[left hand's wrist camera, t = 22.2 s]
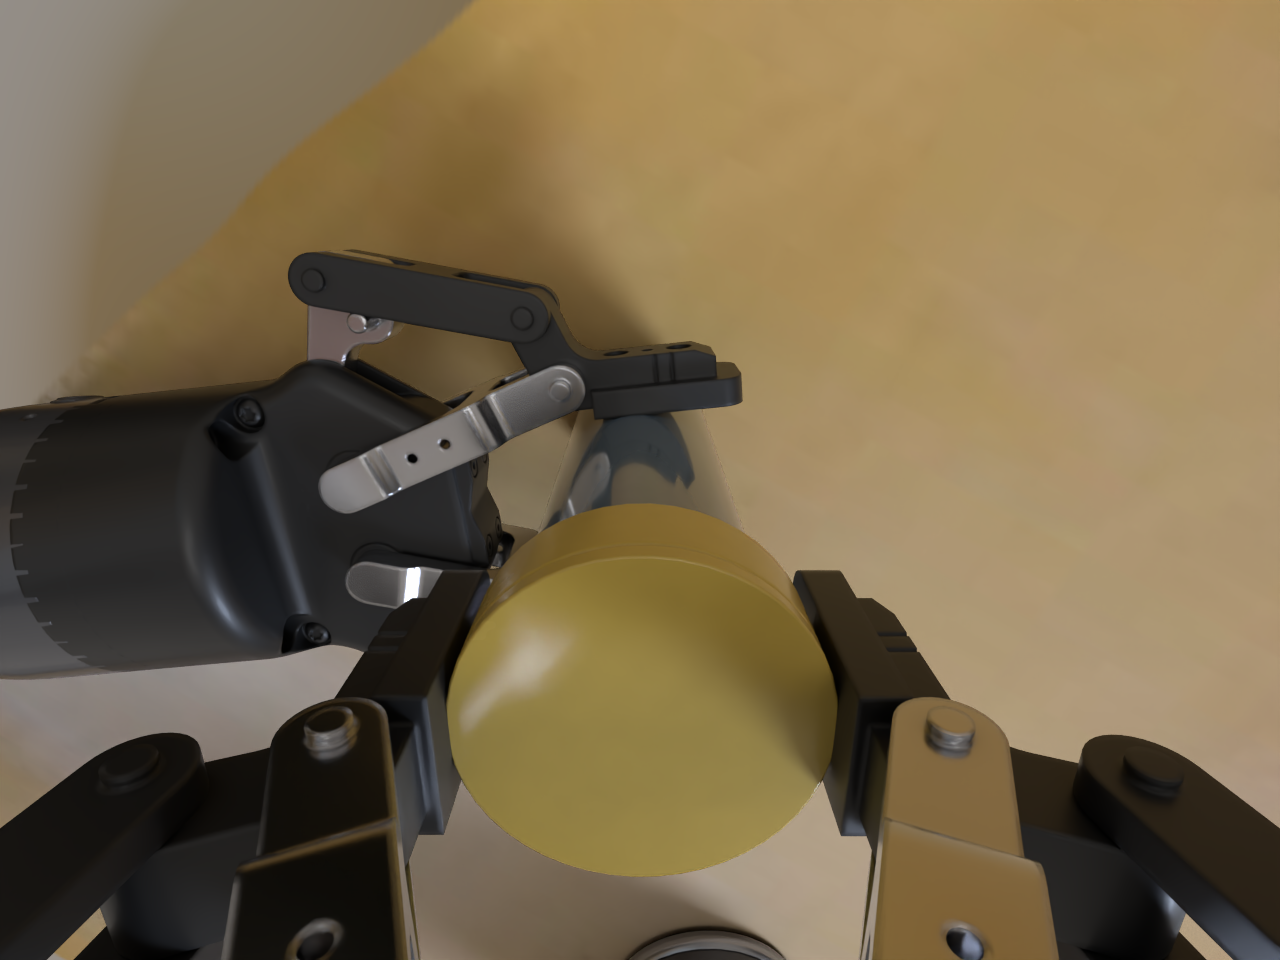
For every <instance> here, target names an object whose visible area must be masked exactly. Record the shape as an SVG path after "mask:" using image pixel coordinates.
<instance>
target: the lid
mask: <svg viewBox="0 0 1280 960" xmlns="http://www.w3.org/2000/svg"><path fill="white" fill-rule="evenodd" d="M446 707H447V718H448V727H449V735H450V744H451V751H452V758H453V761H454V764H455V767H456V769H457V771H458V773H459V775H460V777H461V779H462V781H463V784H464V785H465V787H466V788H467V790H468V791H469V793H470V794H471V796H472V797H473V799H474V800H475V802H476V803H477V804H478V805H479V806H480V807H481V809H482V810H483V811H484V812H485V813H486V814H487V815H488V817H489V818H490V819H491V820H493V821H494V822H495V823H496V824H497V825H498V826H499V827H501V828H502V829H503V830H504V831H505V832H506V833H508V834H509V835H511V836H512V837H513V838H515V839H516V840H518V841H519V842H521V843H522V844H524V845H525V846H527V847H529V848H531V849H533V850H535V851H536V852H538V853H540V854H542V855H544V856H546V857H549V858H551V859H554V860H556V861H559V862H561V863H564V864H566V865H570V866H573V867H577V868H580V869H584V870H587V871H592V872H598V873H603V874H609V875H619V876H631V877H651V876H665V875H674V874H682V873H686V872H691V871H696V870H700V869H704V868H707V867H711V866H714V865H717V864H720V863H723V862H726V861H728V860H730V859H733V858H735V857H737V856H739V855H742V854H744V853H746V852H748V851H749V850H751V849H753V848H755V847H756V846H758V845H760V844H762V843H763V842H765V841H766V840H768V839H769V838H770V837H772V836H773V835H775V834H776V833H777V832H779V831H780V830H781V829H783V828H784V827H785V826H786V825H787V824H788V823H789V822H790V821H791V820H792V819H793V818H794V817H795V816H796V815H797V814H798V813H799V812H800V811H801V810H802V809H803V807H804V806H805V805H806V804H807V802H808V801H809V800H810V799H811V798H812V796H813V794H814V793H815V791H816V790H817V788H818V786H819V785H820V783H821V782H822V780H823V778H824V776H825V773H826V771H827V769H828V766H829V764H830V762H831V758H832V751H833V744H834V735H835V727H836V719H837V708H838V696H837V691H836V687H835V682H834V678H833V674H832V672H831V669H830V667H829V664H828V662H827V659H826V657H825V654H824V652H823V650H822V647H821V645H820V643H819V641H818V638H817V636H816V633H815V631H814V629H813V627H812V624H811V622H810V620H809V617H808V615H807V613H806V610H805V608H804V606H803V604H802V601H801V599H800V597H799V594H798V592H797V590H796V588H795V587H794V585H793V583H792V582H791V580H790V578H789V577H788V575H787V573H786V572H785V571H784V570H783V568H782V567H781V566H780V565H779V563H778V562H777V561H776V560H775V558H774V557H773V556H772V555H771V554H769V553H768V552H767V551H766V550H765V549H764V548H763V547H762V546H761V545H760V544H759V543H758V542H756V541H755V540H753V539H752V538H750V537H749V536H748V535H746V534H745V533H743V532H742V531H740V530H739V529H737V528H735V527H733V526H731V525H729V524H727V523H725V522H723V521H722V520H720V519H717V518H714V517H712V516H709V515H706V514H703V513H701V512H698V511H694V510H690V509H685V508H681V507H677V506H670V505H660V504H622V505H615V506H608V507H602V508H598V509H594V510H591V511H587V512H583V513H580V514H577V515H575V516H572V517H570V518H567V519H565V520H562V521H560V522H558V523H556V524H554V525H553V526H551V527H549V528H547V529H545V530H544V531H542V532H540V533H539V534H537V535H536V536H535V537H533V538H532V539H531V540H529V541H528V542H527V543H525V544H524V545H523V546H521V547H520V548H519V549H518V550H517V551H516V552H515V553H514V554H513V555H512V556H511V557H510V558H509V559H508V560H507V561H506V563H505V564H504V565H503V567H502V568H501V569H500V571H499V572H498V573H497V575H496V576H495V577H494V579H493V581H492V583H491V584H490V586H489V588H488V590H487V592H486V594H485V595H484V598H483V600H482V602H481V605H480V607H479V610H478V612H477V614H476V617H475V619H474V621H473V624H472V626H471V628H470V631H469V633H468V635H467V638H466V640H465V643H464V645H463V648H462V650H461V652H460V654H459V657H458V659H457V662H456V665H455V667H454V670H453V673H452V676H451V679H450V682H449V687H448V693H447V698H446Z"/></svg>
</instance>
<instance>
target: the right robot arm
mask: <svg viewBox="0 0 1280 960" xmlns="http://www.w3.org/2000/svg"><path fill="white" fill-rule="evenodd" d="M288 280H289V284H290V287H291V289H292V291H293V293H294V294H295V295H296V297H297V298H298V299H299V300H301V301H302V302H303V303H305V304H307V305H308V330H307V361H304V362H301V363H299V364H297V365H295V366H294V367H292V368H291V369H289V370H288V371H287V372H286V373H285V374H283V375H282V376H281V377H279V378H278V379H273V380H265V381H256V382H246V383H237V384H227V385H218V386H208V387H199V388H189V389H180V390H170V391H161V392H151V393H142V394H133V395H123V396H113V397H104V396H73V397H63V398H58V399H57V400H55V401H51V402H50V403H46V404H37V405H28V406H21V407H14V408H8V409H2V410H0V679H25V680H32V679H51V678H63V677H74V676H85V675H96V674H107V673H118V672H129V671H140V670H150V669H161V668H172V667H183V666H194V665H206V664H217V663H228V662H239V661H251V660H262V659H272V658H278V657H283V656H287V655H291V654H295V653H298V652H302V651H305V650H309V649H313V648H316V647H320V646H325V645H340V646H345V647H350V648H354V649H357V650H360V651H362V652H365V651H367V650H368V646H369V644H370V643H371V641H372V640H373V638H374V637H375V636H377V635H378V631H379V629H380V627H381V626H382V624H383V623H384V621H385V620H386V618H387V617H388V615H389V614H390V613H391V612H392V611H394V610H395V609H397V608H398V607H399V606H401V605H402V604H404V603H405V602H406V601H408V600H409V599H411V598H427V597H428V595H429V594H430V592H431V590H432V588H433V587H434V585H435V583H436V581H437V580H438V578H439V576H440V574H441V573H442V571H444V570H487V571H488V574H489V577H490V584H491V583H492V581H493V579H494V577H495V576H496V575H497V573H498V572H499V571H500V569H501V568H502V567H503V565H504V564H505V563H506V561H507V560H508V559H509V558H510V557H511V556H512V555H513V554H514V553H515V552H516V551H517V550H518V549H519V548H520V547H521V546H523V545H524V544H525V543H527V542H528V541H529V540H531V539H532V538H533V537H535V536H536V535H537V534H538V531H536V530H533V529H528V528H523V527H517V526H512V525H506V524H501V519H500V514H499V510H498V508H497V506H496V504H495V502H494V500H493V498H492V496H491V494H490V492H489V490H488V487H487V478H488V466H489V456H488V453H489V452H491V451H493V450H494V449H496V448H498V447H500V446H501V445H503V444H504V443H505V442H507V441H508V440H510V439H512V438H514V437H516V436H518V435H520V434H523V433H525V432H527V431H530V430H532V429H534V428H537V427H539V426H541V425H544V424H546V423H548V422H551V421H553V420H555V419H558V418H560V417H562V416H565V415H567V414H569V413H571V412H573V411H579V410H588V409H593V413H594V420H599V419H609V418H619V417H627V416H636V415H648V414H658V413H667V412H677V411H687V410H697V409H706V408H716V407H726V406H732V405H736V404H739V403H741V402H742V401H743V399H742V381H741V372H740V371H739V370H738V368H737V367H736V365H735V364H734V363H731V362H716V356H715V354H714V352H713V351H712V349H711V347H709V346H706V345H702V344H699V343H695V342H692V341H687V342H678V343H670V344H659V345H650V346H640V347H631V348H621V349H612V350H602V351H597V350H591V349H588V348H586V347H584V346H583V345H581V344H580V343H579V342H578V341H577V340H576V339H575V338H574V337H573V335H572V333H571V331H570V329H569V328H568V326H567V324H566V322H565V320H564V318H563V316H562V314H561V312H560V304H559V300H558V298H557V296H556V294H555V293H554V292H553V291H552V290H551V289H550V288H549V287H547V286H545V285H542V284H537V283H532V282H527V281H521V280H516V279H510V278H505V277H500V276H494V275H489V274H483V273H478V272H473V271H467V270H462V269H456V268H451V267H446V266H440V265H435V264H429V263H424V262H419V261H413V260H408V259H402V258H397V257H392V256H386V255H381V254H376V253H370V252H365V251H359V250H335V251H320V252H310V253H304V254H301V255H299V256H297V257H296V258H295V259H294V260H293V261H292V263H291V265H290V267H289V271H288ZM405 323H407V324H412V325H418V326H423V327H429V328H434V329H440V330H446V331H451V332H457V333H462V334H468V335H473V336H479V337H485V338H490V339H496V340H501V341H507V342H511V343H512V345H513V346H514V348H515V350H516V352H517V354H518V356H519V357H520V359H521V361H522V363H523V365H524V367H523V368H521V369H519V370H516V371H514V372H512V373H509V374H507V375H504V376H499V377H496V378H494V379H491V380H489V381H487V382H485V383H482V384H480V385H478V386H476V387H474V388H471V389H469V390H467V391H465V392H462V393H460V394H458V395H456V396H453V397H451V398H449V399H447V400H444V401H442V402H439V401H437V400H436V399H434V398H432V397H430V396H428V395H426V394H424V393H423V392H421V391H419V390H417V389H415V388H413V387H411V386H409V385H408V384H406V383H404V382H402V381H400V380H398V379H396V378H394V377H393V376H391V375H389V374H387V373H385V372H383V371H381V370H379V369H378V368H376V367H374V366H372V365H370V364H368V363H366V362H364V361H363V360H361V359H359V358H358V355H359V351H360V349H361V348H362V346H363V345H364V344H377V343H380V342H383V341H385V340H387V339H390V338H392V337H394V336H396V335H397V334H398V333H400V331H401V330H402V328H403V327H404V324H405ZM491 566H496V567H500V568H496V569H490V568H491ZM629 960H785V959H784V958H783V957H782V956H781V955H780V954H778V953H777V952H776V951H775V950H773V949H772V948H770V947H769V946H767V945H765V944H763V943H762V942H760V941H757V940H755V939H753V938H750V937H747V936H744V935H740V934H736V933H730V932H723V931H694V932H686V933H681V934H676V935H673V936H669V937H666V938H663V939H661V940H658V941H656V942H654V943H652V944H650V945H648V946H646V947H645V948H643V949H641V950H640V951H638V952H637V953H636V954H635V955H633V956H632V957H631V958H630V959H629Z"/></svg>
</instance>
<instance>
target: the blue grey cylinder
mask: <svg viewBox="0 0 1280 960" xmlns="http://www.w3.org/2000/svg"><path fill="white" fill-rule="evenodd" d="M622 504H660V505H670V506H677V507H681V508H685V509H690V510H694V511H698V512H701V513H703V514H706V515H709V516H712V517H714V518H717V519H720V520H722V521H723V522H725V523H727V524H729V525H731V526H733V527H735V528H737V529H739V530H740V531H742V532H743V533H745V532H744V529H743V526H742V524H741V521H740V518H739V515H738V512H737V509H736V506H735V503H734V500H733V498H732V495H731V492H730V489H729V486H728V483H727V480H726V477H725V475H724V472H723V469H722V466H721V463H720V460H719V457H718V454H717V452H716V449H715V446H714V443H713V440H712V437H711V434H710V431H709V428H708V426H707V423H706V420H705V417H704V414H703V411H702V409H697V410H687V411H677V412H667V413H658V414H648V415H636V416H627V417H619V418H609V419H599V420H594V413H593V409H588V410H579V412H578V415H577V418H576V421H575V424H574V427H573V430H572V433H571V436H570V439H569V442H568V445H567V448H566V451H565V454H564V457H563V460H562V463H561V466H560V469H559V472H558V475H557V478H556V481H555V484H554V487H553V490H552V493H551V495H550V498H549V501H548V504H547V507H546V510H545V513H544V516H543V519H542V522H541V525H540V528H539V531H538V534H539V533H540V532H542V531H544V530H545V529H547V528H549V527H551V526H553V525H554V524H556V523H558V522H560V521H562V520H565V519H567V518H570V517H572V516H575V515H577V514H580V513H583V512H587V511H591V510H594V509H598V508H602V507H608V506H615V505H622Z"/></svg>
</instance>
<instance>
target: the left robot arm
mask: <svg viewBox="0 0 1280 960" xmlns="http://www.w3.org/2000/svg"><path fill="white" fill-rule="evenodd" d="M793 585H794V587H795V588H796V590H797V592H798V594H799V597H800V599H801V601H802V604H803V606H804V608H805V610H806V613H807V615H808V617H809V620H810V622H811V624H812V627H813V629H814V631H815V633H816V636H817V638H818V641H819V643H820V645H821V647H822V650H823V652H824V654H825V657H826V659H827V662H828V664H829V667H830V669H831V672H832V674H833V678H834V682H835V687H836V691H837V696H838V708H837V719H836V727H835V735H834V744H833V751H832V758H831V762H830V764H829V766H828V769H827V771H826V773H825V776H824V778H823V783H824V786H825V789H826V792H827V795H828V798H829V801H830V804H831V807H832V810H833V813H834V816H835V819H836V822H837V825H838V828H839V831H840V834H841V836H867V838H868V841H869V844H870V846H871V849H872V852H871V859H870V865H869V872H868V880H867V889H866V898H865V907H864V916H863V925H862V934H861V943H860V952H859V960H1206V959H1205V958H1204V957H1203V956H1202V955H1201V954H1200V953H1199V952H1198V951H1197V950H1196V949H1195V948H1194V947H1193V945H1192V944H1191V943H1190V942H1189V941H1188V940H1187V939H1186V938H1185V937H1184V936H1183V935H1182V934H1181V933H1180V932H1179V930H1180V927H1181V924H1182V922H1183V919H1184V917H1185V914H1186V913H1187V914H1188V915H1189V916H1190V917H1191V918H1192V919H1193V920H1194V921H1195V922H1196V923H1197V924H1198V925H1199V926H1200V927H1201V928H1202V929H1203V930H1204V931H1205V932H1206V933H1207V934H1208V935H1209V936H1210V937H1211V938H1212V939H1213V940H1214V941H1215V942H1216V943H1217V944H1218V945H1219V946H1220V947H1221V948H1222V949H1223V950H1224V951H1225V952H1226V953H1227V954H1228V955H1229V956H1230V957H1231V958H1232V959H1233V960H1280V828H1279V827H1277V826H1276V825H1275V824H1273V823H1272V822H1271V821H1269V820H1268V819H1267V818H1265V817H1264V816H1263V815H1262V814H1260V813H1259V812H1258V811H1256V810H1255V809H1254V808H1252V807H1251V806H1250V805H1248V804H1247V803H1246V802H1244V801H1243V800H1242V799H1241V798H1239V797H1238V796H1237V795H1235V794H1234V793H1233V792H1231V791H1230V790H1229V789H1227V788H1226V787H1225V786H1223V785H1222V784H1221V783H1220V782H1218V781H1217V780H1216V779H1214V778H1213V777H1212V776H1210V775H1209V774H1208V773H1206V772H1205V771H1204V770H1202V769H1201V768H1200V767H1199V766H1197V765H1196V764H1194V763H1193V762H1191V761H1190V760H1188V759H1187V758H1185V757H1183V756H1181V755H1180V754H1178V753H1176V752H1174V751H1172V750H1170V749H1168V748H1166V747H1163V746H1161V745H1158V744H1156V743H1153V742H1150V741H1147V740H1143V739H1139V738H1135V737H1130V736H1123V735H1102V736H1098V737H1095V738H1093V739H1091V740H1089V741H1088V742H1087V743H1086V744H1085V745H1084V747H1083V749H1082V753H1081V756H1080V760H1079V763H1074V762H1070V761H1065V760H1061V759H1056V758H1052V757H1047V756H1042V755H1038V754H1033V753H1029V752H1025V751H1021V750H1018V749H1015V748H1012V747H1009V743H1008V739H1007V737H1006V736H1005V734H1004V732H1003V731H1002V730H1001V728H1000V727H999V726H998V725H997V724H996V723H995V722H994V721H993V720H991V719H990V718H989V717H987V716H986V715H984V714H983V713H981V712H979V711H978V710H976V709H974V708H972V707H970V706H967V705H965V704H962V703H959V702H956V701H952V700H951V699H950V698H949V696H948V695H947V693H946V692H945V690H944V689H943V687H942V686H941V684H940V683H939V681H938V680H937V678H936V677H935V675H934V674H933V672H932V671H931V669H930V668H929V666H928V664H927V663H926V661H925V660H924V658H923V657H922V655H921V654H920V652H917V648H916V646H915V645H914V643H913V642H912V640H911V639H910V637H909V636H907V633H906V631H905V630H904V628H903V626H902V625H901V623H900V622H899V620H898V619H897V617H896V616H895V614H893V613H892V612H891V611H889V610H888V609H886V608H885V607H884V606H882V605H881V604H879V603H878V602H876V601H875V600H874V599H872V598H856V596H855V594H854V593H853V591H852V589H851V588H850V586H849V584H848V582H847V581H846V579H845V577H844V576H843V574H842V572H841V571H838V570H798V571H796V573H795V576H794V580H793ZM489 586H490V577H489V574H488V571H487V570H444V571H442V573H441V574H440V576H439V578H438V580H437V581H436V583H435V585H434V587H433V588H432V590H431V592H430V594H429V595H428V597H427V598H411V599H409V600H408V601H406V602H405V603H404V604H402V605H401V606H399V607H398V608H397V609H395V610H394V611H392V612H391V613H390V614H389V615H388V617H387V618H386V620H385V621H384V623H383V624H382V626H381V627H380V629H379V631H378V635H377V636H375V637H374V638H373V640H372V641H371V643H370V644H369V646H368V650H367V651H365V652H364V654H363V655H362V657H361V658H360V660H359V661H358V663H357V664H356V666H355V668H354V669H353V671H352V672H351V674H350V675H349V677H348V678H347V680H346V681H345V683H344V684H343V686H342V688H341V689H340V691H339V692H338V694H337V695H336V697H335V698H334V699H331V700H328V701H324V702H321V703H318V704H315V705H313V706H310V707H308V708H306V709H304V710H302V711H301V712H299V713H297V714H296V715H294V716H293V717H291V718H290V719H289V720H287V721H286V722H285V723H284V724H283V725H282V726H281V727H280V728H279V730H278V731H277V732H276V734H275V736H274V737H273V739H272V743H271V747H270V748H267V749H263V750H259V751H255V752H251V753H246V754H242V755H237V756H233V757H228V758H223V759H219V760H214V761H210V762H205V763H204V760H203V756H202V753H201V749H200V746H199V744H198V742H197V741H196V740H195V739H194V738H192V737H190V736H188V735H184V734H180V733H159V734H152V735H147V736H143V737H139V738H136V739H133V740H130V741H127V742H124V743H122V744H119V745H117V746H115V747H113V748H111V749H108V750H106V751H104V752H103V753H101V754H99V755H98V756H96V757H94V758H93V759H91V760H90V761H88V762H87V763H86V764H84V765H83V766H81V767H80V768H79V769H78V770H76V771H75V772H74V773H72V774H71V775H70V776H68V777H67V778H66V779H64V780H63V781H62V782H60V783H59V784H58V785H57V786H55V787H54V788H53V789H51V790H50V791H49V792H47V793H46V794H45V795H43V796H42V797H41V798H39V799H38V800H37V801H36V802H34V803H33V804H32V805H30V806H29V807H28V808H26V809H25V810H24V811H22V812H21V813H20V814H18V815H17V816H16V817H15V818H13V819H12V820H11V821H9V822H8V823H7V824H5V825H4V826H3V827H1V828H0V960H47V959H48V958H49V957H50V956H51V955H52V954H53V953H54V952H55V951H56V950H57V949H58V948H59V947H60V946H61V945H62V944H63V943H64V942H65V941H66V940H67V939H68V938H69V937H70V936H71V935H72V934H73V933H74V932H75V931H76V930H77V929H78V928H79V927H80V926H81V925H82V924H83V923H84V922H85V921H86V920H87V919H88V918H89V917H90V916H91V915H92V914H93V913H94V912H95V911H97V910H98V909H99V908H100V909H101V912H102V915H103V917H104V920H105V923H106V925H107V926H106V927H105V928H104V929H103V930H102V931H101V932H100V933H99V934H98V935H97V936H96V937H95V938H94V939H93V940H92V941H91V942H90V943H89V944H88V946H87V947H86V948H85V949H84V950H83V951H82V952H81V953H80V954H79V955H78V956H77V957H76V958H75V959H74V960H421V952H420V943H419V934H418V925H417V916H416V907H415V898H414V889H413V880H412V872H411V865H410V856H411V853H412V851H413V848H414V845H415V842H416V840H417V837H418V835H444V832H445V829H446V826H447V822H448V819H449V816H450V813H451V810H452V807H453V804H454V801H455V798H456V795H457V791H458V788H459V785H460V782H461V777H460V775H459V773H458V771H457V769H456V767H455V764H454V761H453V758H452V751H451V744H450V735H449V727H448V718H447V707H446V698H447V693H448V687H449V682H450V679H451V676H452V673H453V670H454V667H455V665H456V662H457V659H458V657H459V654H460V652H461V650H462V648H463V645H464V643H465V640H466V638H467V635H468V633H469V631H470V628H471V626H472V624H473V621H474V619H475V617H476V614H477V612H478V610H479V607H480V605H481V602H482V600H483V598H484V595H485V594H486V592H487V590H488V588H489Z"/></svg>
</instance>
